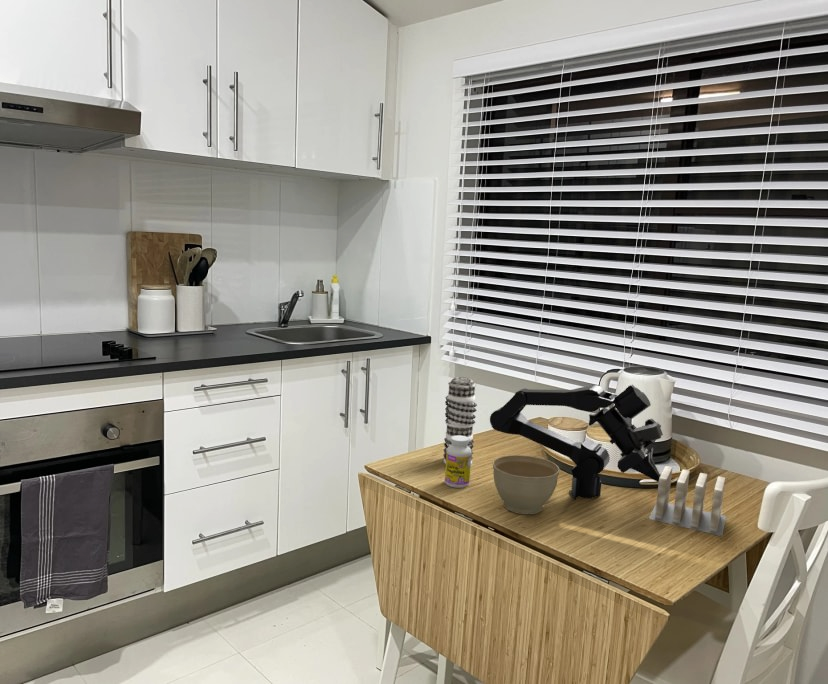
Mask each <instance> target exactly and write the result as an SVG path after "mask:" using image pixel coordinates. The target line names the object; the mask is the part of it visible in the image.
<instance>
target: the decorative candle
mask: <svg viewBox="0 0 828 684" xmlns="http://www.w3.org/2000/svg"><path fill="white" fill-rule="evenodd" d="M476 386H477V384H476V383H475V382H474V381H473V379H472V378H469V377H464V376H463V377H462V376H458V377H454V378H452V379H451V381H449V382H448V393H447V395H446V396H445V401H444V404H445V406H446V407H445V413H444V415H445V418H446V419H445V421H444V422H445V424H446V432H445V438H444V442H445V443H443V445H444V449H443V455H442V456H443V463H444V464H445V465H446V453H447V448H448V447H449V446H450V445H452V443H451V437H452V436H457V435H459V436H465V437H468V438H469V443H468V447H469V448H470V449H471V451H472V454H471V465H472V464H473V461H472V460H473V459H474V457H473V454H474V451H473V448H474V443H475V442H474V439H473V438H474V434H473V428H474V426H475V424H476V421H475V420H474V419H475V418H476V415H475V414H474V413H476V412H477V409H476V407H477V406H478V404H477V403H476V402H475V401H476V395H475V392H476Z"/></svg>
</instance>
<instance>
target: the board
mask: <svg viewBox="0 0 828 684" xmlns="http://www.w3.org/2000/svg"><path fill="white" fill-rule="evenodd" d="M674 505H675V503H670V502H669V503H668V507H667V509H666V511H665V514H664V516H663V518H662V519H658V518H655V512H656V504H655V505H654V508H653V509H652V511H651V513H650V515H649V517H648V520H652V521H657V522H660V523H664V524H668V525H673V526H678V527H682V528H685V529H690V530H695V531H698V532H704V533H707V534H711V535H715V536H719V537H723V534H724V527H725V524H726V518H727V515H726V514H725V515H724V514H721V516H720V521H719V525H718V529H717V532H714V531H710V530H709V528H710V520H711V512H712V511H706V510H703V513H702V517H701V520H700V523H699V526H698V528H697V527H693V526H691V520H692V511H693V507H688V506H686V507H685V511H684V514H683V516H682V519H681V522H680V523H675V522H673V514H674Z"/></svg>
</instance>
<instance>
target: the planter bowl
mask: <svg viewBox="0 0 828 684" xmlns="http://www.w3.org/2000/svg"><path fill="white" fill-rule="evenodd" d="M492 469H493V472H492V474H493V481H494V486H495V489H496V491H497V493H498V495H499V497H500V499H501V500H502V502H503V503H502V504H503V507H504V508H505V509H506V510H507V511H510V512H512V513H516V514H521V515H536V514H538V513H540V512H542V510H543V508H544V506H545V505H546V503H547V502H548V501H549V500H550V499H551V498H552V496H553V494H554V492H555V489H556V488H557V484H558V478H559V475H560V467H559V465H557V464H556V463H554V462H553V461H551V460H548V459H546V458H542V457H536V456H531V455H521V454H520V455H518V454H514V455H511V454H510V455H503V456H500V457H498V458H495V459H494V460H493V461H492Z"/></svg>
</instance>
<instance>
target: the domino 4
mask: <svg viewBox="0 0 828 684" xmlns="http://www.w3.org/2000/svg"><path fill="white" fill-rule="evenodd" d="M725 483H726V477H724V476H720V475H719V476H717V479H716V483H715V485H714V491H713V497H712V506H711V511H710V512H711V520H710V528H709V530H710V531H714V532H717V529H718V525H719V521H720V516H721V515H722V506H723V501H724V500H723V499H724V492H725Z"/></svg>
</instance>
